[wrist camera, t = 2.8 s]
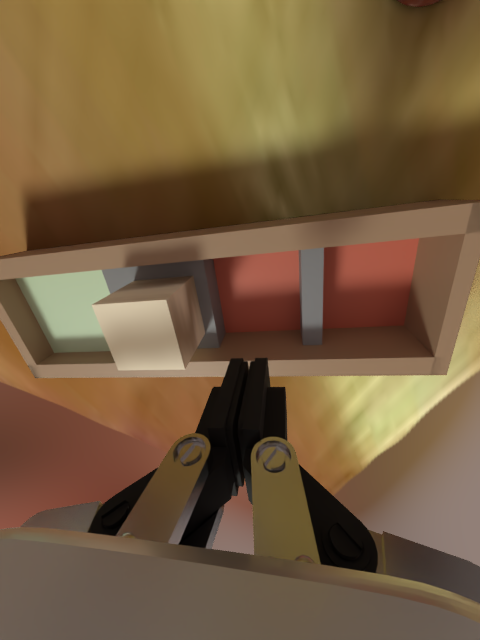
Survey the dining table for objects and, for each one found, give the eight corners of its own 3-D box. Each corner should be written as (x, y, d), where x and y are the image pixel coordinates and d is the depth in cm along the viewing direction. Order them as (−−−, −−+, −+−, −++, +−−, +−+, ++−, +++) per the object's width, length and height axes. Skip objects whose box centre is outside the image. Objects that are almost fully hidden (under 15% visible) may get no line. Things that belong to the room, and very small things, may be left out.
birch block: (133, 280, 20) (91, 304, 15) (193, 275, 19) (166, 299, 14) (151, 335, 22) (118, 370, 17) (205, 333, 21) (184, 369, 16)
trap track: (26, 250, 23) (-33, 263, 19) (439, 199, 17) (495, 200, 13) (74, 349, 28) (35, 377, 24) (412, 338, 22) (446, 374, 17)
